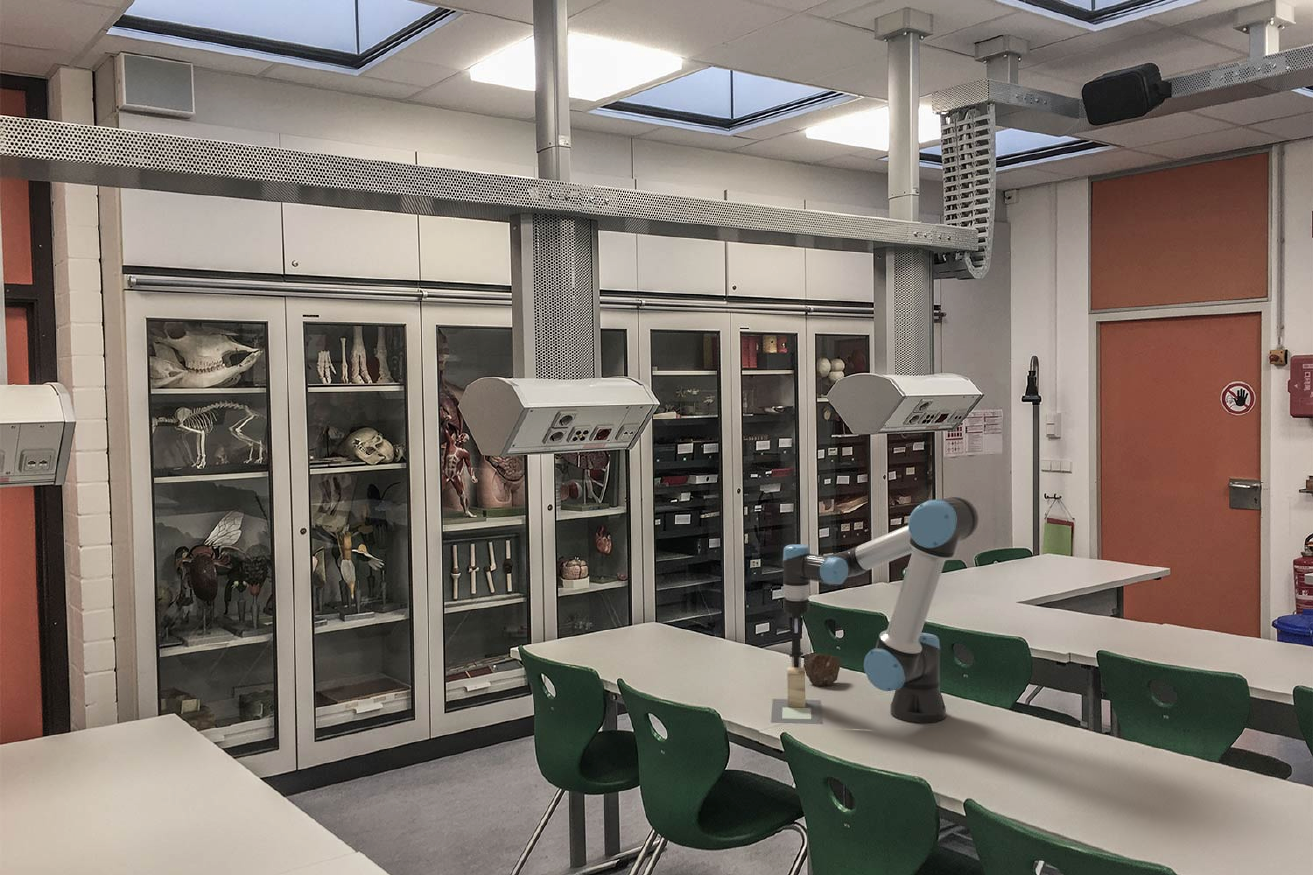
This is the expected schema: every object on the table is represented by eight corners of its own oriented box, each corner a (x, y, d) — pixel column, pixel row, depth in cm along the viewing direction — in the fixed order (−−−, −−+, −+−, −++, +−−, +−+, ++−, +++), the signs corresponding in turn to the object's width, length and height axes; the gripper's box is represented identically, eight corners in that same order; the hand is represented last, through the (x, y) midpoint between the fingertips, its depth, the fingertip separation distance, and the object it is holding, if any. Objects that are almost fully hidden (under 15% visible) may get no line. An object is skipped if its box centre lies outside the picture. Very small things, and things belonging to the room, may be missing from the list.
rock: (835, 663, 328) (850, 651, 320) (837, 694, 323) (851, 683, 315) (799, 656, 326) (813, 644, 318) (800, 687, 320) (814, 676, 312)
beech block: (787, 699, 303) (787, 667, 301) (805, 700, 302) (804, 667, 301) (787, 706, 298) (787, 673, 296) (805, 707, 297) (805, 673, 296)
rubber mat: (772, 700, 306) (772, 698, 305) (820, 701, 304) (820, 699, 304) (771, 723, 284) (771, 721, 284) (822, 725, 282) (822, 723, 282)
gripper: (783, 593, 308) (783, 671, 310) (782, 602, 295) (782, 684, 297) (809, 593, 307) (809, 672, 309) (809, 603, 294) (809, 684, 296)
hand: (796, 677), depth 303 cm, fingers closed
